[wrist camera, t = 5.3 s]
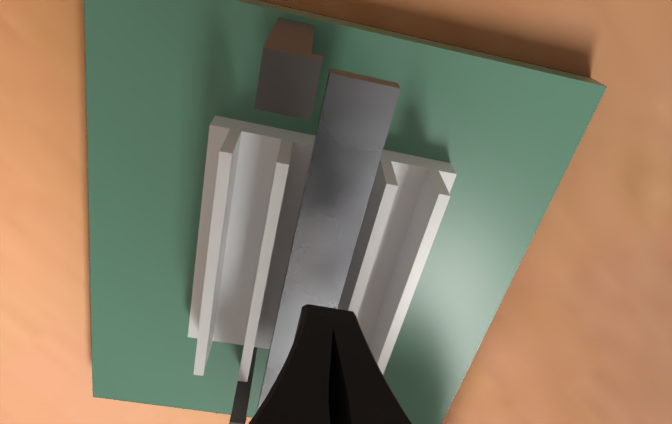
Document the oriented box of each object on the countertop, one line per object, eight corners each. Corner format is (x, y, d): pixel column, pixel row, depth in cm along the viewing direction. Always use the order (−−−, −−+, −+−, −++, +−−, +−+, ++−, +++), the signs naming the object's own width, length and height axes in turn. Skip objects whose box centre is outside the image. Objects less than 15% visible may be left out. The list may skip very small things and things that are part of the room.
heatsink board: (428, 422, 28) (452, 533, 23) (102, 378, 26) (46, 489, 21) (591, 78, 19) (692, 135, 14) (98, -38, 17) (-5, -21, 11)
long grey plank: (300, 423, 22) (299, 442, 21) (254, 418, 22) (252, 436, 21) (396, 81, 15) (401, 90, 14) (329, 66, 14) (330, 74, 13)
